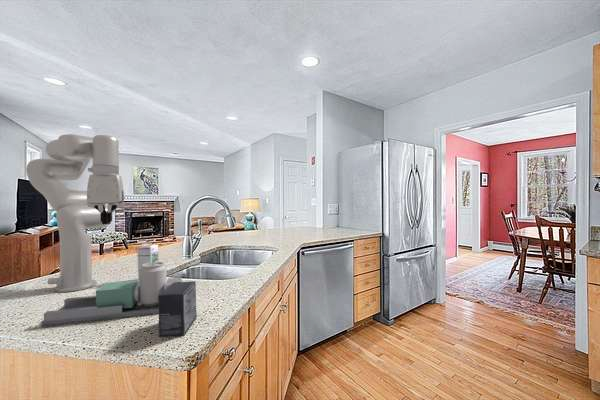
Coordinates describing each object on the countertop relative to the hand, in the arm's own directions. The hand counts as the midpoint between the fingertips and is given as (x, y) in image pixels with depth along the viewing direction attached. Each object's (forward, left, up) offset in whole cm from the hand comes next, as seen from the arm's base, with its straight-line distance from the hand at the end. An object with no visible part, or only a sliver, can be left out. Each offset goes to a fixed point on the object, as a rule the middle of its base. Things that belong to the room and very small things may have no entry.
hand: (106, 223), depth 97 cm
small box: (+27, -34, -25) cm, 50 cm away
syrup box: (+10, +17, -25) cm, 32 cm away
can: (+18, -17, -24) cm, 34 cm away
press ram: (+9, -17, -23) cm, 30 cm away
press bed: (+9, -17, -25) cm, 32 cm away
